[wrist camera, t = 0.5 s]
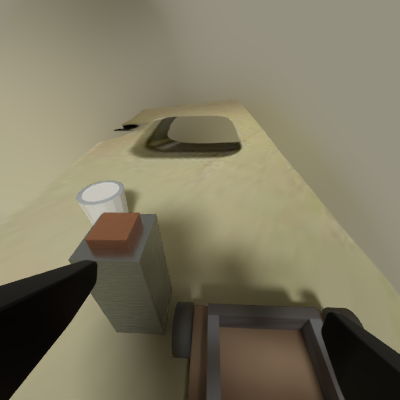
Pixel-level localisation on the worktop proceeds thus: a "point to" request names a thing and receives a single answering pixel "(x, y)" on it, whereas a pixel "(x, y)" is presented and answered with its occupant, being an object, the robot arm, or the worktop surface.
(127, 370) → the worktop surface
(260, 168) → the worktop surface
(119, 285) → the engine block
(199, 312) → the chassis
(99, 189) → the shot glass
